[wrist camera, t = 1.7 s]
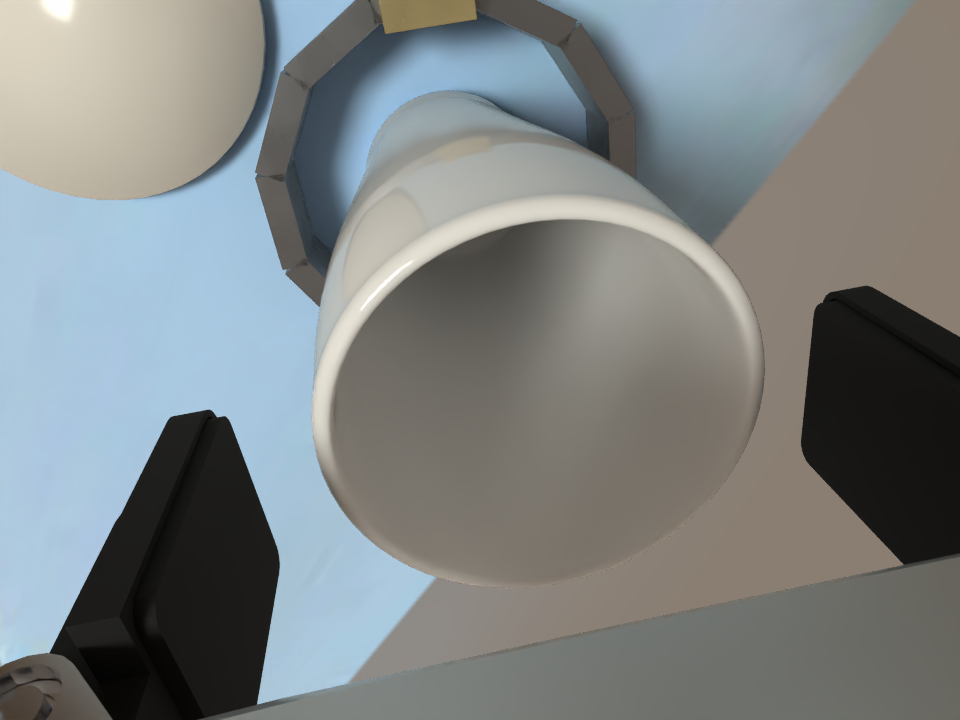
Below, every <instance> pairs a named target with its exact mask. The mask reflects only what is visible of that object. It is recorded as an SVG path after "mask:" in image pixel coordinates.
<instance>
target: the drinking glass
mask: <svg viewBox="0 0 960 720" xmlns="http://www.w3.org/2000/svg"><path fill="white" fill-rule="evenodd" d="M764 374H765V365H764V348H763V342H762V335H761V331H760V327H759V324H758V320H757V316H756V313H755V311H754V308H753V306H752V303H751V301H750V299H749V296H748V294H747V293H746V291H745V289H744V287H743V286H742V284H741V282H740V280H739V278H738V277H737V276H736V274H735V273H734V272H733V270H732V269H731V268H730V266H729V265H728V264H727V262H726V261H725V260H724V259H723V258H722V257H721V256H720V255H719V254H718V253H717V252H716V251H715V250H714V249H713V248H712V246H710V245H709V244H708V243H707V242H706V241H704V240H703V239H702V238H701V237H700V236H699V235H698V234H697V233H696V232H695V231H694V230H693V229H692V228H691V227H690V226H689V225H688V224H687V223H686V222H685V221H684V220H683V219H682V218H680V217H679V216H678V215H677V214H676V213H675V212H674V211H673V210H672V209H671V208H670V207H668V206H667V205H666V204H665V203H664V202H663V201H661V200H660V199H659V198H658V197H657V196H655V195H654V194H653V193H652V192H651V191H649V190H648V189H647V188H646V187H644V186H643V185H642V184H641V183H639V182H638V181H637V180H636V179H634V178H633V177H632V176H630V175H629V174H628V173H626V172H625V171H623V170H622V169H620V168H619V167H617V166H616V165H614V164H613V163H611V162H610V161H608V160H606V159H605V158H603V157H602V156H600V155H598V154H597V153H595V152H594V151H592V150H590V149H588V148H586V147H584V146H582V145H580V144H578V143H576V142H574V141H572V140H570V139H568V138H566V137H564V136H561V135H559V134H557V133H554V132H552V131H550V130H547V129H545V128H542V127H540V126H537V125H535V124H532V123H530V122H527V121H525V120H522V119H520V118H518V117H515V116H513V115H510V114H508V113H506V112H504V111H503V110H501V109H500V108H499V107H498V106H496V105H495V104H493V103H491V102H490V101H488V100H486V99H484V98H482V97H479V96H477V95H474V94H471V93H467V92H461V91H449V90H447V91H436V92H431V93H427V94H424V95H421V96H418V97H416V98H414V99H412V100H410V101H408V102H406V103H405V104H403V105H402V106H400V107H399V108H398V109H397V110H395V111H394V112H393V113H392V114H391V115H390V116H389V117H388V118H387V119H386V121H385V122H384V123H383V124H382V126H381V127H380V129H379V130H378V132H377V134H376V136H375V138H374V140H373V142H372V144H371V147H370V150H369V154H368V158H367V164H366V170H365V173H364V175H363V178H362V180H361V182H360V185H359V187H358V189H357V192H356V194H355V196H354V198H353V201H352V203H351V205H350V208H349V210H348V212H347V214H346V217H345V219H344V222H343V224H342V227H341V230H340V232H339V235H338V237H337V240H336V242H335V245H334V248H333V251H332V255H331V258H330V262H329V266H328V269H327V273H326V277H325V281H324V286H323V291H322V297H321V303H320V309H319V316H318V323H317V331H316V341H315V356H314V378H313V395H312V414H311V418H312V432H313V440H314V446H315V451H316V456H317V459H318V462H319V465H320V468H321V471H322V475H323V477H324V479H325V481H326V483H327V486H328V488H329V490H330V492H331V494H332V495H333V497H334V499H335V500H336V502H337V504H338V505H339V507H340V508H341V510H342V511H343V512H344V514H345V515H346V516H347V517H348V519H349V520H350V521H351V522H352V524H353V525H354V526H355V527H356V528H357V529H358V530H359V531H360V532H361V533H362V534H363V535H364V536H365V537H366V538H368V539H369V540H370V541H371V542H372V543H374V544H375V545H376V546H377V547H379V548H380V549H381V550H383V551H384V552H386V553H387V554H389V555H390V556H392V557H393V558H395V559H397V560H399V561H401V562H402V563H404V564H406V565H408V566H410V567H412V568H415V569H417V570H419V571H421V572H424V573H426V574H429V575H432V576H435V577H438V578H441V579H444V580H448V581H453V582H457V583H461V584H467V585H473V586H480V587H491V588H529V587H539V586H547V585H554V584H559V583H564V582H569V581H574V580H577V579H581V578H584V577H588V576H591V575H594V574H597V573H600V572H603V571H605V570H608V569H611V568H613V567H615V566H618V565H620V564H622V563H625V562H627V561H629V560H631V559H633V558H635V557H637V556H638V555H640V554H642V553H644V552H646V551H648V550H649V549H651V548H652V547H654V546H656V545H657V544H659V543H661V542H662V541H663V540H665V539H666V538H668V537H669V536H670V535H672V534H673V533H675V532H676V531H677V530H678V529H680V528H681V527H682V526H683V525H684V524H686V523H687V522H688V521H689V520H690V519H692V518H693V517H694V515H696V514H697V513H698V512H699V511H700V510H701V509H702V508H703V507H704V506H705V505H706V504H707V503H708V501H709V500H710V499H711V498H712V497H713V496H714V495H715V494H716V493H717V491H718V490H719V489H720V487H721V486H722V485H723V483H724V482H725V481H726V479H727V478H728V477H729V475H730V474H731V472H732V470H733V469H734V467H735V466H736V464H737V463H738V461H739V459H740V457H741V455H742V453H743V451H744V450H745V448H746V446H747V444H748V441H749V439H750V436H751V433H752V431H753V428H754V426H755V423H756V420H757V416H758V413H759V409H760V404H761V399H762V393H763V387H764Z"/></svg>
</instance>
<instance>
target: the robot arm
mask: <svg viewBox="0 0 960 720" xmlns="http://www.w3.org/2000/svg"><path fill="white" fill-rule="evenodd" d="M801 447H802V452H803V455H804V457H805V459H806V461H807V462H808V463H809V465H810V466H811V467H812V468H813V469H814V470H815V471H816V472H817V473H818V474H819V475H820V477H821V478H822V479H823V480H824V481H825V482H826V483H827V484H828V485H829V486H830V487H831V488H832V489H833V490H834V491H835V492H836V493H837V494H838V495H839V497H841V499H842V500H843V501H844V502H845V503H846V504H847V505H848V506H849V507H850V508H851V509H852V510H853V511H854V512H855V513H856V514H857V516H858V517H859V518H860V519H861V520H862V521H863V522H864V523H865V524H866V525H867V526H868V527H869V528H870V529H871V530H872V531H873V532H874V533H875V535H876V536H877V537H878V538H879V539H880V540H881V541H882V542H883V543H884V544H885V545H886V546H887V547H888V548H889V549H890V550H891V551H892V552H893V554H894V555H895V556H896V557H897V558H898V559H899V560H900V561H901V562H902V563H903V564H904V565H901V566H897V567H892V568H887V569H882V570H878V571H872V572H868V573H863V574H858V575H853V576H849V577H843V578H838V579H834V580H829V581H824V582H819V583H814V584H809V585H805V586H800V587H795V588H790V589H786V590H781V591H776V592H772V593H767V594H762V595H758V596H752V597H748V598H743V599H738V600H734V601H729V602H724V603H719V604H715V605H710V606H705V607H701V608H696V609H691V610H686V611H682V612H677V613H673V614H668V615H663V616H658V617H653V618H649V619H644V620H639V621H635V622H630V623H625V624H621V625H616V626H612V627H607V628H602V629H598V630H593V631H588V632H583V633H579V634H574V635H569V636H565V637H560V638H555V639H552V640H546V641H542V642H537V643H533V644H528V645H524V646H519V647H515V648H510V649H505V650H501V651H496V652H492V653H487V654H482V655H478V656H473V657H469V658H464V659H460V660H455V661H450V662H446V663H441V664H437V665H432V666H427V667H423V668H418V669H414V670H409V671H405V672H400V673H395V674H391V675H387V676H382V677H377V678H373V679H368V680H363V681H359V682H355V683H350V684H345V685H341V686H336V687H332V688H327V689H323V690H318V691H313V692H309V693H304V694H300V695H295V696H291V697H286V698H282V699H278V700H274V701H270V702H266V703H262V704H258V705H257V701H258V695H259V689H260V683H261V677H262V671H263V665H264V659H265V653H266V647H267V641H268V635H269V630H270V624H271V618H272V612H273V606H274V600H275V594H276V588H277V582H278V576H279V569H280V562H279V554H278V549H277V546H276V543H275V541H274V538H273V535H272V533H271V530H270V527H269V525H268V522H267V519H266V517H265V514H264V511H263V509H262V506H261V503H260V501H259V498H258V495H257V492H256V490H255V487H254V484H253V482H252V479H251V476H250V474H249V471H248V468H247V466H246V463H245V460H244V458H243V455H242V452H241V450H240V447H239V444H238V442H237V439H236V436H235V434H234V431H233V428H232V426H231V423H230V421H229V420H228V418H227V417H225V416H223V417H218V418H217V417H216V415H215V414H214V413H213V411H211V410H204V411H199V412H194V413H189V414H183V415H178V416H173V417H170V419H169V420H168V421H167V423H166V425H165V427H164V429H163V431H162V433H161V435H160V437H159V439H158V441H157V443H156V445H155V447H154V449H153V451H152V453H151V455H150V457H149V459H148V461H147V463H146V465H145V467H144V469H143V471H142V473H141V475H140V477H139V479H138V481H137V483H136V485H135V487H134V489H133V491H132V493H131V495H130V497H129V499H128V501H127V503H126V506H125V508H124V510H123V512H122V514H121V515H120V516H119V518H118V519H117V521H116V522H115V524H114V526H113V528H112V530H111V532H110V534H109V536H108V538H107V540H106V542H105V544H104V546H103V548H102V550H101V552H100V554H99V556H98V558H97V560H96V562H95V564H94V566H93V568H92V570H91V572H90V574H89V576H88V577H87V579H86V581H85V583H84V585H83V587H82V589H81V591H80V593H79V595H78V597H77V599H76V601H75V603H74V605H73V607H72V609H71V611H70V613H69V615H68V617H67V619H66V621H65V623H64V625H63V627H62V629H61V631H60V633H59V635H58V637H57V639H56V641H55V643H54V645H53V647H52V649H51V651H50V653H44V654H37V655H30V656H26V657H23V658H20V659H18V660H15V661H12V662H9V663H7V664H5V665H3V666H1V667H0V720H960V337H959V336H957V335H956V334H953V333H952V332H950V331H948V330H947V329H945V328H943V327H941V326H940V325H938V324H936V323H934V322H933V321H931V320H929V319H927V318H925V317H924V316H922V315H920V314H918V313H917V312H915V311H913V310H911V309H910V308H908V307H906V306H904V305H903V304H901V303H899V302H897V301H896V300H894V299H892V298H890V297H888V296H887V295H885V294H883V293H881V292H880V291H878V290H876V289H874V288H873V287H869V286H862V287H857V288H851V289H846V290H840V291H835V292H830V293H829V294H828V295H826V297H825V299H824V301H823V303H820V304H819V305H817V307H816V309H815V312H814V318H813V328H812V338H811V348H810V357H809V367H808V377H807V387H806V397H805V407H804V417H803V427H802V437H801Z"/></svg>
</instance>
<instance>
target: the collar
mask: <svg viewBox="0 0 960 720" xmlns="http://www.w3.org/2000/svg"><path fill="white" fill-rule="evenodd" d="M476 12H479V13H481V14H483V15H485V16H487V17H489V18H492V19H494V20H496V21H498V22H500V23H503V24H505V25H507V26H509V27H511V28H514V29H516V30H518V31H520V32H522V33H525V34H527V35H529V36H531V37H533V38H536V39H538V40H540V41H541V42H542V43H543V45H544V46H545V48H546V49H547V51H548V52H549V54H550V55H551V57H552V58H553V60H554V61H555V63H556V64H557V66H558V68H559V69H560V71H561V72H562V74H563V75H564V77H565V78H566V80H567V81H568V83H569V84H570V86H571V87H572V89H573V90H574V92H575V93H576V95H577V96H578V98H579V100H580V101H581V103H582V104H583V106H584V107H585V109H586V123H587V141H588V149H590V150H592V151H594V152H595V153H597V154H598V155H600V156H602V157H603V158H605V159H606V160H608V161H610V162H611V163H613V164H614V165H616V166H617V167H619V168H620V169H622V170H623V171H625V172H626V173H628V174H629V175H630V176H632V177H633V178H634V179H636V145H635V113H633V112H631V110H632V109H633V107H632V105H631V104H630V102H629V101H628V99H627V97H626V96H625V94H624V92H623V91H622V89H621V88H620V86H619V84H618V83H617V81H616V79H615V78H614V76H613V75H612V73H611V71H610V70H609V68H608V67H607V65H606V63H605V62H604V60H603V58H602V57H601V55H600V54H599V52H598V50H597V49H596V47H595V45H594V44H593V42H592V41H591V39H590V37H589V36H588V34H587V33H586V31H585V29H584V28H583V26H582V24H580V23H576V21H577V20H576V19H574V18H572V17H570V16H567V15H565V14H563V13H561V12H559V11H557V10H555V9H553V8H551V7H548V6H546V5H544V4H542V3H540V2H538V1H536V0H355V1H354V2H353V3H352V4H351V5H350V6H349V7H348V8H347V9H346V10H344V11H343V12H342V13H341V14H340V15H339V16H338V17H337V18H336V19H335V20H334V21H333V22H332V23H331V24H329V25H328V26H327V27H326V28H325V29H324V30H323V31H322V32H321V33H320V34H319V35H318V36H317V37H315V38H314V39H313V40H312V41H311V42H310V43H309V44H308V45H307V46H306V47H305V48H304V49H303V50H302V51H300V52H299V53H298V54H297V55H296V56H295V57H294V58H293V59H292V60H291V61H290V62H289V63H288V64H287V65H286V66H285V67H284V70H283V71H282V72H281V73H280V77H279V81H278V85H277V89H276V93H275V97H274V101H273V105H272V108H271V112H270V116H269V120H268V124H267V128H266V132H265V136H264V140H263V144H262V148H261V151H260V155H259V159H258V163H257V167H256V171H255V173H257V176H256V178H255V179H256V183H257V186H258V189H259V193H260V196H261V199H262V203H263V206H264V209H265V213H266V216H267V219H268V223H269V226H270V229H271V233H272V236H273V239H274V243H275V246H276V249H277V253H278V256H279V259H280V263H281V266H282V269H283V270H285V269H287V270H286V275H287V276H288V277H289V278H290V279H291V280H292V281H293V282H294V283H295V284H296V285H297V286H298V287H299V288H300V289H301V290H302V291H303V292H304V293H305V294H306V295H308V296H309V297H310V298H311V299H312V300H313V301H314V302H315V303H316V304H317V305H318V306H319V307H320V303H321V297H322V291H323V286H324V281H325V277H326V273H327V269H328V266H329V262H330V258H331V255H332V253H331V252H330V251H329V250H328V249H327V248H326V247H325V246H324V245H323V244H322V243H321V242H320V241H319V240H318V239H317V238H316V237H315V236H314V235H313V231H312V227H311V224H310V220H309V216H308V213H307V209H306V205H305V201H304V198H303V194H302V190H301V187H300V183H299V179H298V175H297V172H296V168H295V164H294V160H293V157H294V153H295V150H296V146H297V142H298V139H299V135H300V132H301V128H302V124H303V121H304V117H305V114H306V110H307V106H308V103H309V99H310V96H311V92H312V88H313V85H314V84H315V83H316V82H317V81H318V80H319V79H320V78H322V77H323V76H324V75H325V74H326V73H327V72H328V71H329V70H330V69H331V68H333V67H334V66H335V65H336V64H337V63H338V62H339V61H340V60H341V59H342V58H343V57H345V56H346V55H347V54H348V53H349V52H350V51H351V50H352V49H353V48H354V47H356V46H357V45H358V44H359V43H360V42H361V41H362V40H363V39H364V38H365V37H367V36H368V35H369V34H370V33H371V32H372V31H373V30H374V29H375V28H376V27H377V26H379V25H380V24H383V26H384V31H385V34H388V33H394V32H401V31H407V30H413V29H419V28H425V27H432V26H438V25H444V24H450V23H456V22H463V21H469V20H475V19H477V14H476Z"/></svg>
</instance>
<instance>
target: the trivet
mask: <svg viewBox="0 0 960 720" xmlns="http://www.w3.org/2000/svg"><path fill="white" fill-rule="evenodd" d="M265 55H266V34H265V22H264V14H263V9H262V4H261V0H0V168H1V169H3V170H5V171H7V172H9V173H11V174H13V175H15V176H17V177H19V178H21V179H23V180H25V181H27V182H30V183H33V184H35V185H38V186H41V187H43V188H46V189H49V190H52V191H56V192H60V193H63V194H67V195H71V196H76V197H83V198H90V199H97V200H126V199H136V198H144V197H148V196H152V195H156V194H160V193H164V192H167V191H169V190H172V189H174V188H177V187H179V186H182V185H184V184H186V183H187V182H189V181H191V180H193V179H194V178H196V177H198V176H200V175H201V174H202V173H204V172H205V171H206V170H207V169H209V168H210V167H211V166H213V165H214V164H215V163H216V162H217V161H218V160H219V159H220V158H221V157H222V156H223V155H224V154H225V153H226V152H227V151H228V150H229V148H230V147H231V146H232V145H233V144H234V142H235V141H236V140H237V138H238V137H239V135H240V134H241V132H242V131H243V129H244V128H245V126H246V124H247V122H248V120H249V118H250V116H251V114H252V112H253V110H254V108H255V105H256V102H257V99H258V95H259V92H260V89H261V85H262V80H263V74H264V68H265Z"/></svg>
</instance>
